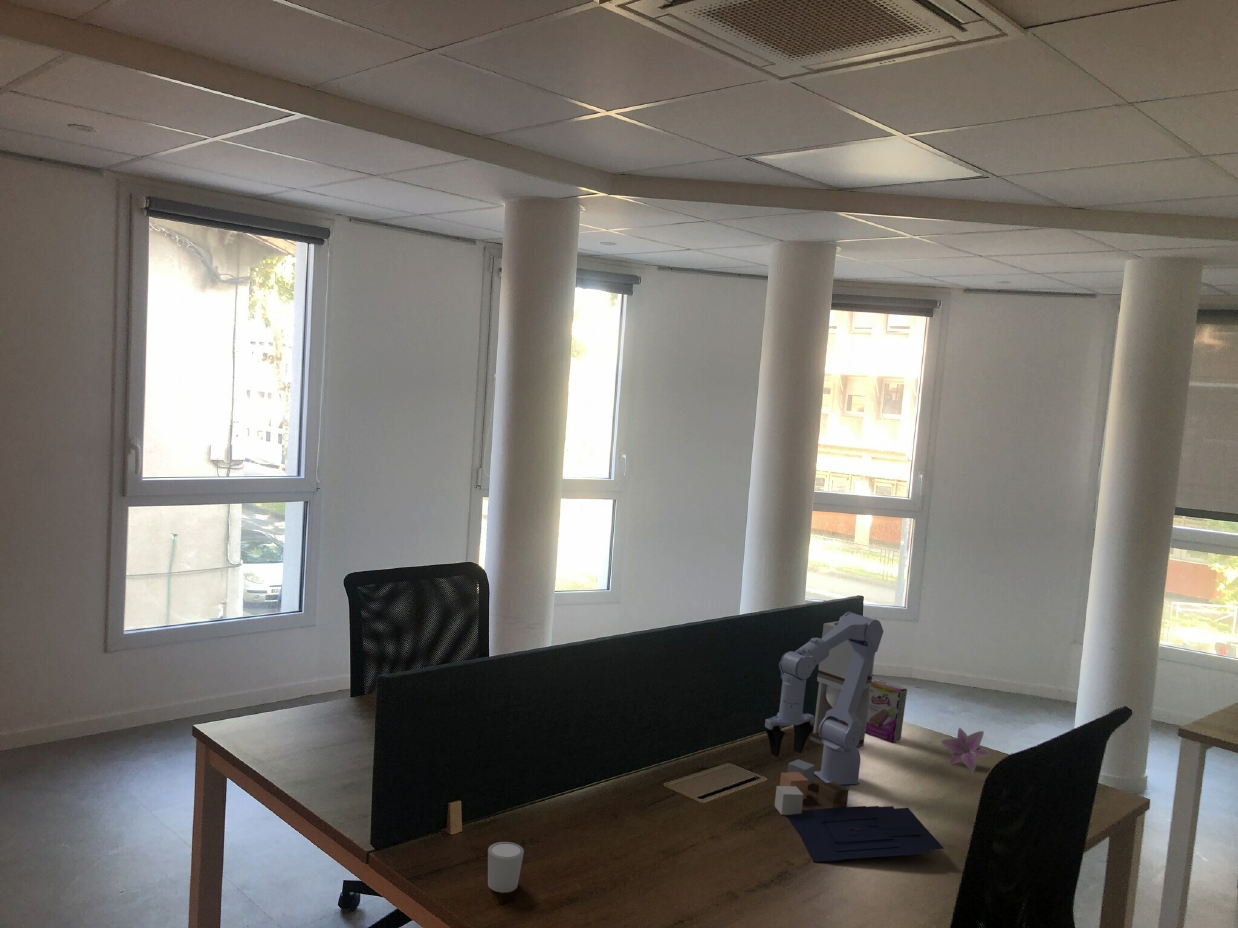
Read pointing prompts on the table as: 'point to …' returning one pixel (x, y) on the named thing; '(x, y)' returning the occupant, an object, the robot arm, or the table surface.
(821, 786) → the walnut cube
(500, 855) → the grey cylinder
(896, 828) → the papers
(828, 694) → the grey elongated piece
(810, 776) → the slate cube
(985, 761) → the table surface
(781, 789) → the offwhite cube
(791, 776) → the terracotta cube
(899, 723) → the candy bar box
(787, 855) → the table surface
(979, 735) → the lily
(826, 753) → the robot arm
